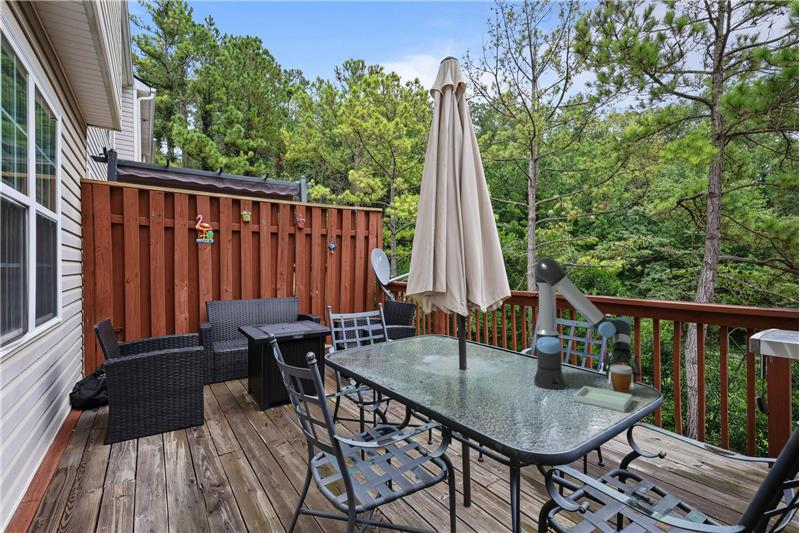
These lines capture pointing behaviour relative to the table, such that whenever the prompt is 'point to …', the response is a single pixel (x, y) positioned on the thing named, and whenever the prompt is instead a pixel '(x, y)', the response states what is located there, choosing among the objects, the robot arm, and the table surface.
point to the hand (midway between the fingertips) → (620, 386)
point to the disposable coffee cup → (621, 378)
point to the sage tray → (603, 398)
